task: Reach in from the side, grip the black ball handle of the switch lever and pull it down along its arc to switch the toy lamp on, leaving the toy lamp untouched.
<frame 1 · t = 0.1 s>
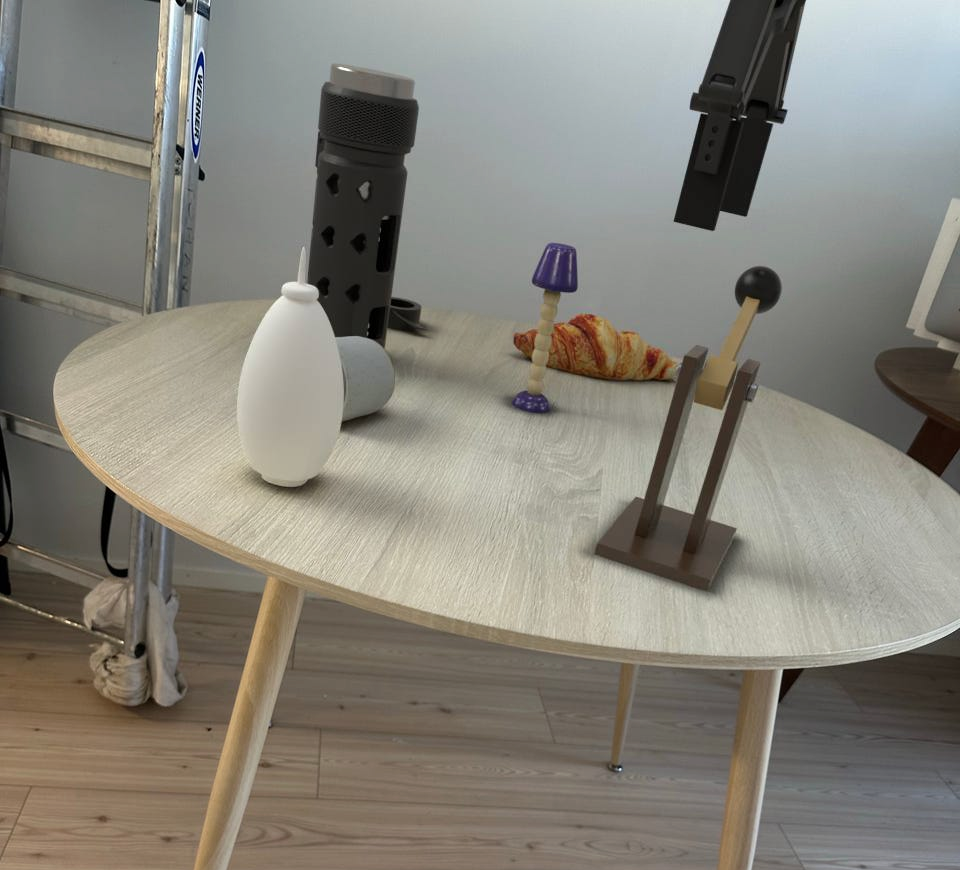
hand: (712, 219, 73), 24 cm above the table, tool pointing down, fingers open, 13 cm apart
ceramic mug: (325, 415, 96), on the table
toy lamp: (529, 410, 109), on the table
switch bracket: (665, 550, 83), on the table
sauce bottle: (284, 486, 81), on the table
water bottle: (338, 359, 112), on the table
croissant: (593, 374, 126), on the table
duct tape: (395, 328, 128), on the table
lever: (738, 333, 78), point 17 cm above the table, hinge at 30.0°
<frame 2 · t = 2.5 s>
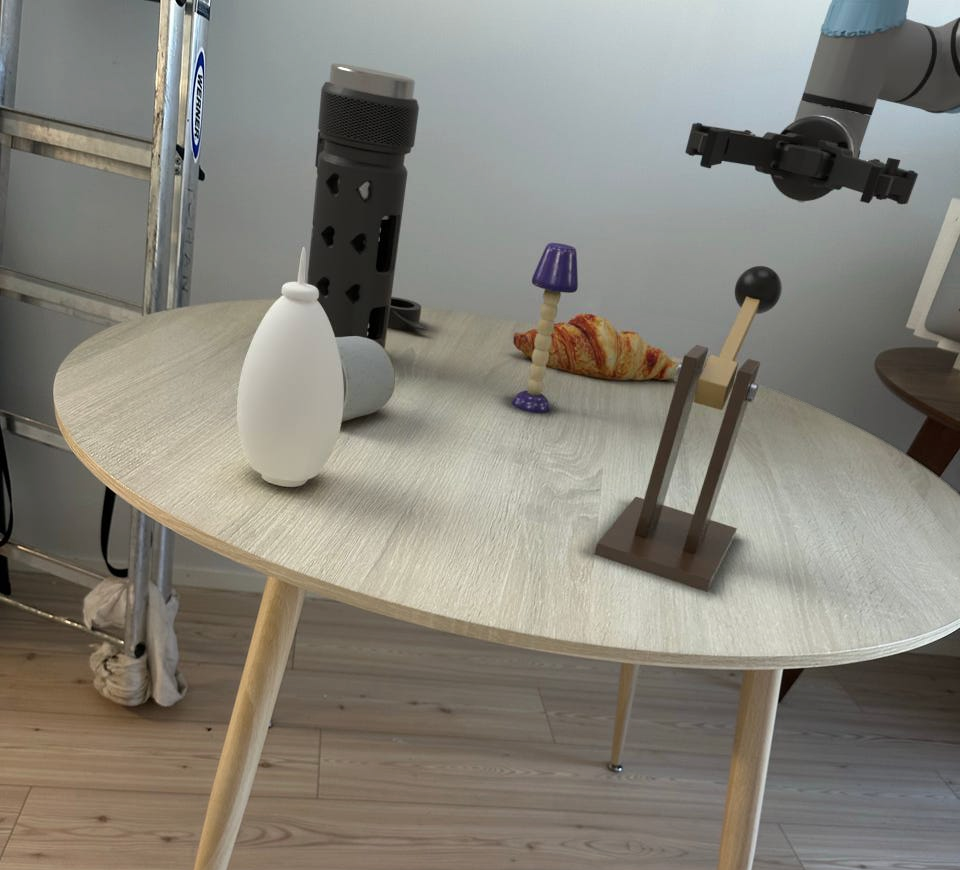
hand: (788, 166, 85), 28 cm above the table, tool horizontal, fingers open, 13 cm apart
nothing on the table moved.
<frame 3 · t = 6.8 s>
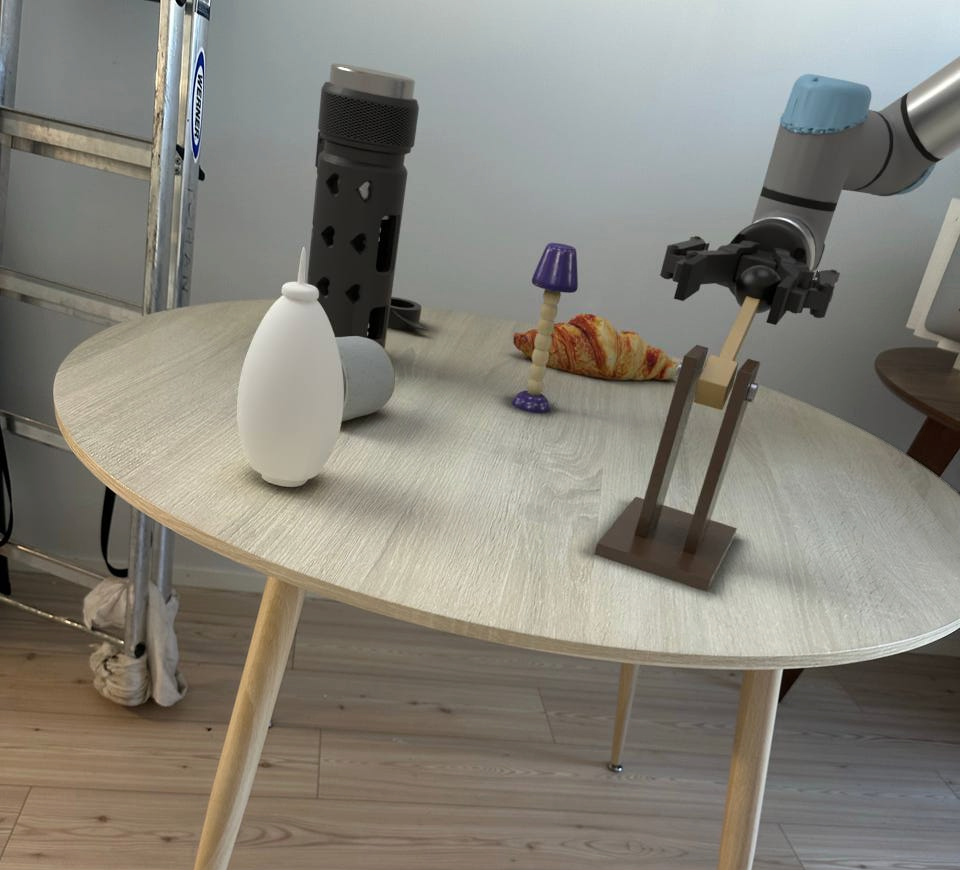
hand: (729, 293, 77), 20 cm above the table, tool horizontal, fingers open, 6 cm apart
lever: (738, 332, 78), point 17 cm above the table, hinge at 30.3°, touching gripper
everything else where it was.
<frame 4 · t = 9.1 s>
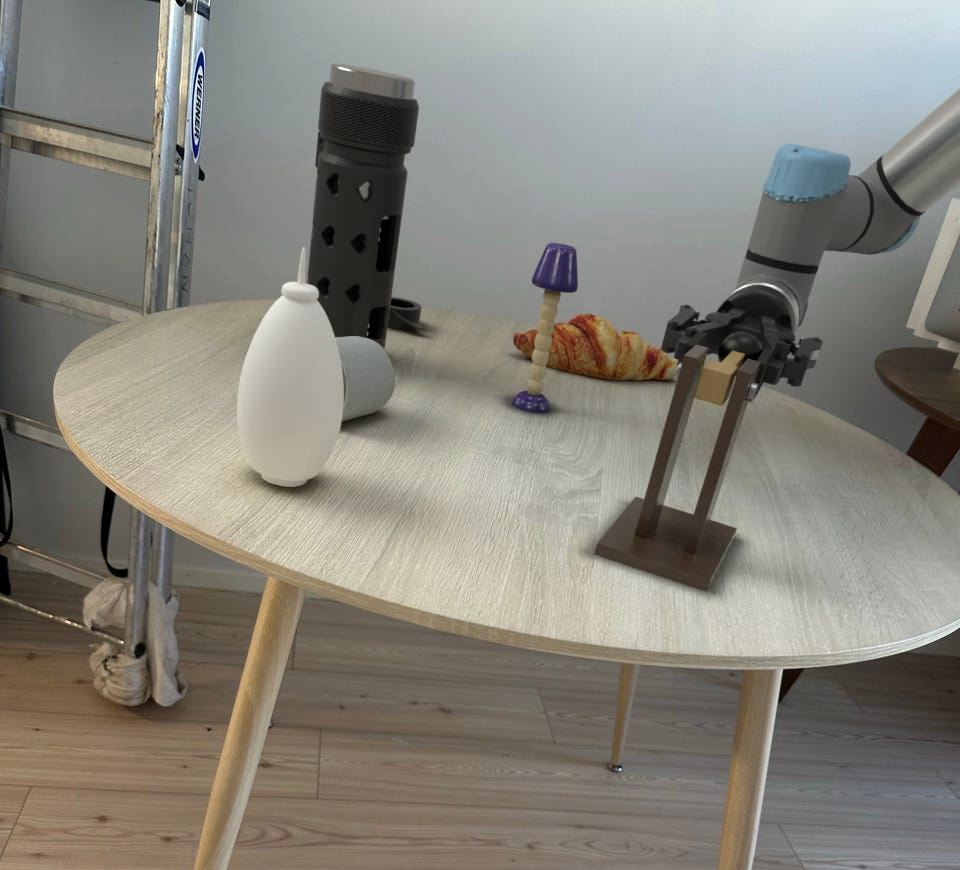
hand: (720, 371, 80), 14 cm above the table, tool horizontal, fingers open, 5 cm apart
lever: (729, 367, 80), point 14 cm above the table, hinge at 0.4°, touching gripper
everything else where it was.
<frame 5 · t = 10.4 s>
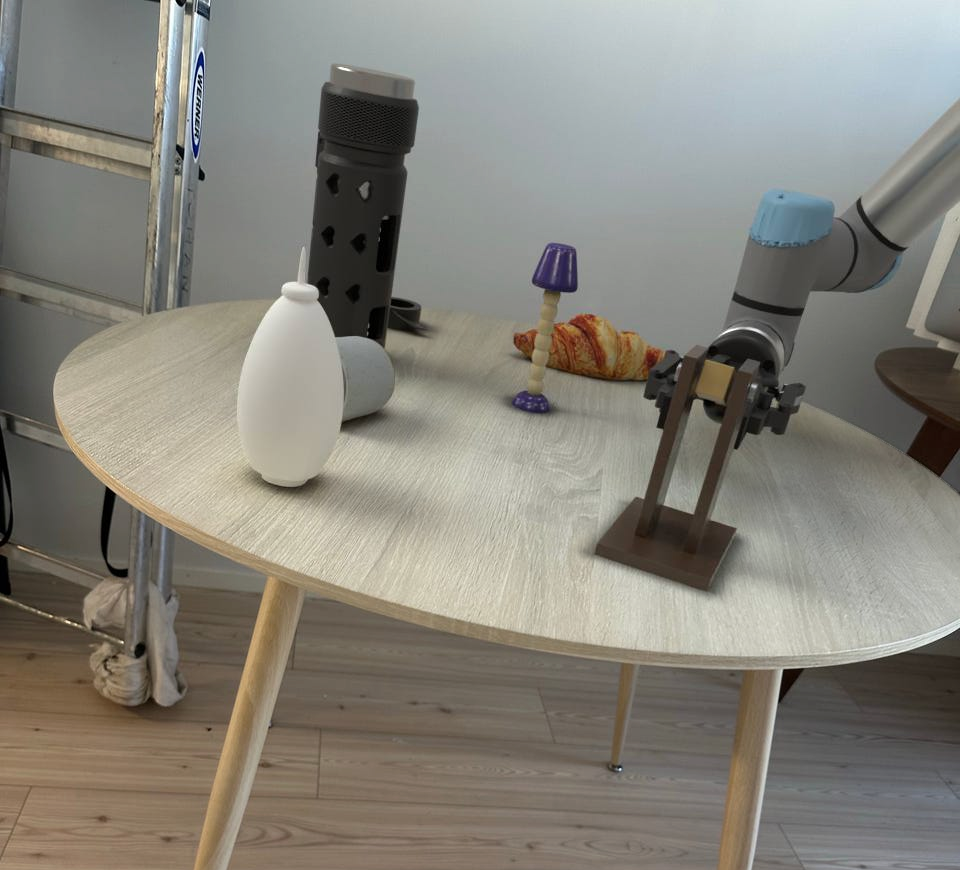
hand: (701, 422, 82), 10 cm above the table, tool horizontal, fingers open, 5 cm apart
lever: (720, 393, 81), point 12 cm above the table, hinge at -20.7°, touching gripper
everything else where it was.
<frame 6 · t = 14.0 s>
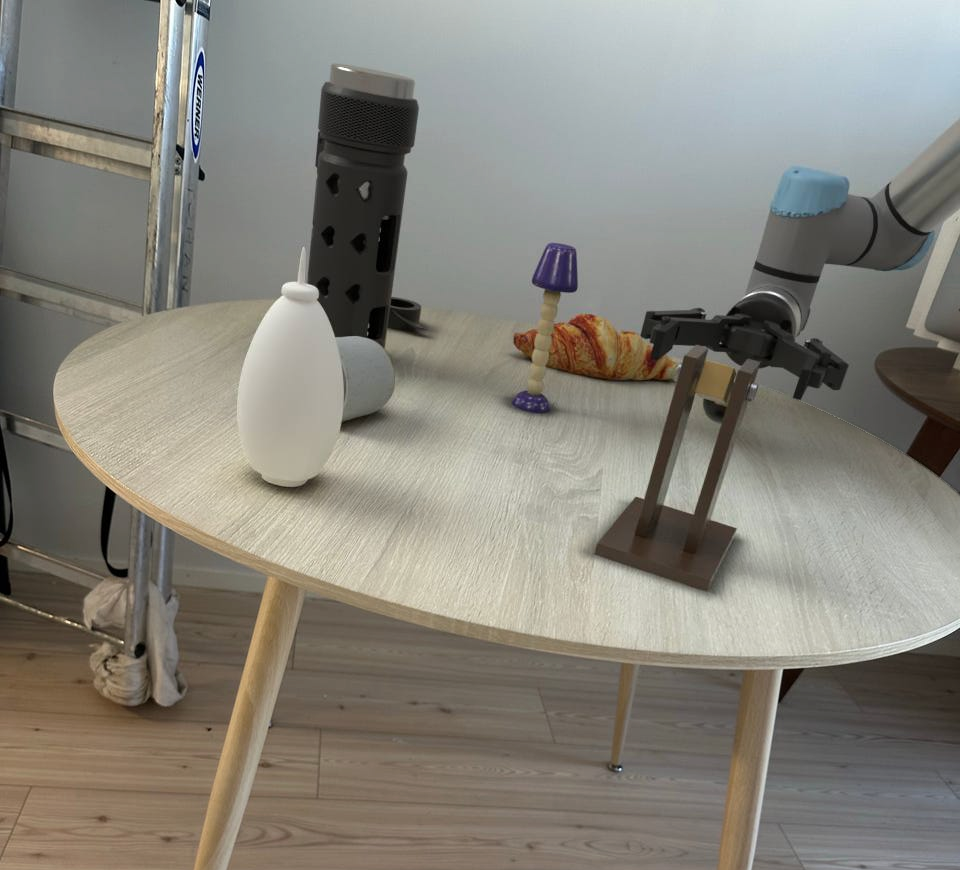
hand: (727, 364, 94), 11 cm above the table, tool horizontal, fingers open, 13 cm apart
lever: (720, 393, 81), point 12 cm above the table, hinge at -20.7°
everything else where it was.
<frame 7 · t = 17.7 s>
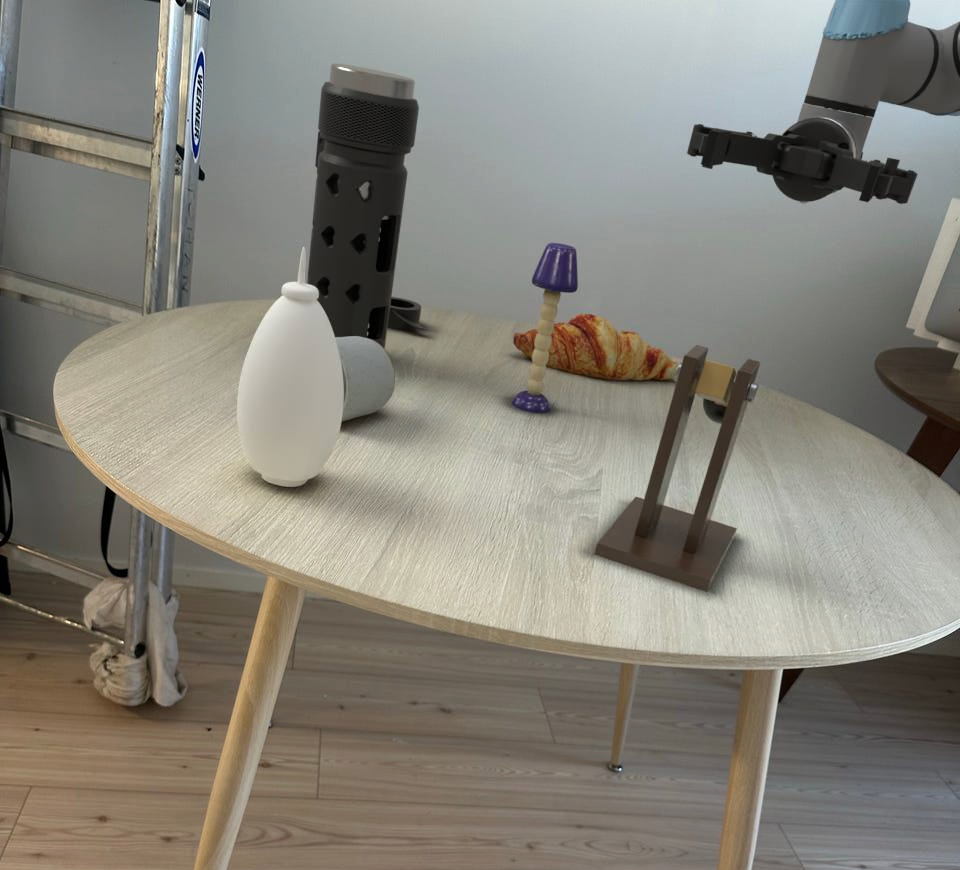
hand: (787, 165, 85), 28 cm above the table, tool horizontal, fingers open, 13 cm apart
nothing on the table moved.
at the end: lever at -21° (first picture: +30°); toy lamp moved 0.2 cm from its start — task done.
